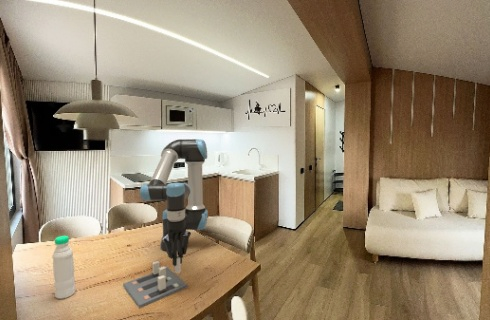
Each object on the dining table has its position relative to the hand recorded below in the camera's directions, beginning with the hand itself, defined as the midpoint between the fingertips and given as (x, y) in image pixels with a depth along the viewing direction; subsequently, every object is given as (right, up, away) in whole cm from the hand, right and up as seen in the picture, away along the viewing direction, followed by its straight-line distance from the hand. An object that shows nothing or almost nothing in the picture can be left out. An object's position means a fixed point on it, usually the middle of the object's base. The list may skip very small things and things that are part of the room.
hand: (177, 271), depth 113 cm
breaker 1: (-12, -5, +9) cm, 16 cm away
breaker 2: (-8, -6, +3) cm, 10 cm away
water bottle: (-46, -8, -4) cm, 47 cm away
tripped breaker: (-6, -6, -4) cm, 9 cm away
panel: (-10, -7, +1) cm, 13 cm away
